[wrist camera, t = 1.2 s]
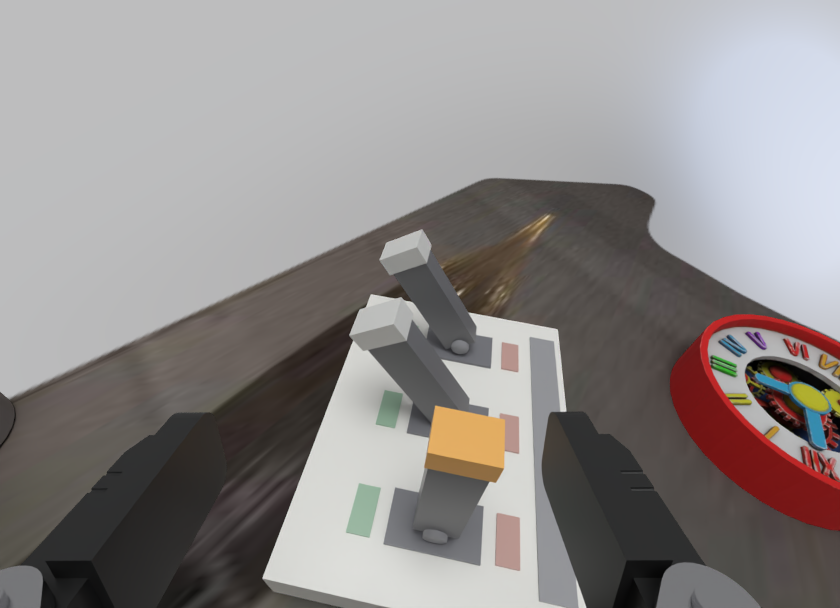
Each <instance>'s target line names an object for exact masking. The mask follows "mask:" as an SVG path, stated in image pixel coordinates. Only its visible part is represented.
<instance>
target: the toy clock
mask: <svg viewBox="0 0 840 608" xmlns="http://www.w3.org/2000/svg"><path fill="white" fill-rule="evenodd" d="M670 392H671V396H672V400H673V404H674V407H675V409H676V411H677V414H678V416H679V418H680V420H681V422H682V424H683V425H684V427H685V429H686V430H687V432H688V433H689V435H690V437H691V438H692V439H693V440H694V442H695V443H696V444H697V445H698V447H699V448H700V449H701V450H702V452H703V453H704V454H705V455H706V456H707V457H708V458H709V459H710V460H711V461H712V462H713V463H714V464H715V465H716V466H717V467H718V468H719V469H720V470H721V471H722V472H723V473H724V474H725V475H726V476H728V477H729V478H730V479H731V480H732V481H734V482H735V483H736V484H737V485H738V486H740V487H741V488H742V489H744V490H745V491H747V492H748V493H750V494H751V495H753V496H754V497H756V498H757V499H758V500H760V501H761V502H763V503H765V504H767V505H769V506H770V507H772V508H774V509H776V510H778V511H780V512H781V513H783V514H785V515H788V516H790V517H792V518H795V519H797V520H800V521H802V522H805V523H807V524H810V525H814V526H818V527H822V528H825V529H829V530H838V531H840V343H838V342H836V341H834V340H832V339H830V338H828V337H826V336H824V335H822V334H820V333H818V332H815V331H813V330H810V329H808V328H805V327H803V326H800V325H797V324H794V323H791V322H787V321H784V320H781V319H776V318H771V317H767V316H759V315H733V316H727V317H723V318H721V319H719V320H717V321H714V322H713V323H712V324H711V325H710V326H708V327H707V328H706V329H705V330H704V332H703V333H702V334H701V335H700V336H699V337H698V338H697V339H696V340H695V341H694V343H693V344H692V345H691V346H690V347H689V348H688V349H687V350H686V351H685V353H684V354H683V355H682V356H681V357H680V358H679V359H678V360H677V362H676V364H675V365H674V367H673V369H672V373H671V377H670Z"/></svg>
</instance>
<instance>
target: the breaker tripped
mask: <svg viewBox="0 0 840 608" xmlns="http://www.w3.org/2000/svg"><path fill="white" fill-rule="evenodd" d="M504 454H505V420H504V419H499V418H494V417H490V416H485V415H480V414H475V413H470V412H465V411H460V410H455V409H450V408H445V407H440V406H435V409H434V413H433V418H432V422H431V428H430V434H429V440H428V446H427V453H426V459H425V465H424V468H425V469H424V473H423V477H422V482H421V486H420V490H419V494H418V499H417V505H416V510H415V516H414V522H413V528H412V529H414V530H419V531H423V535H422V538H423V539H424V540H426V541H428V542H432V543H437V544H444V543H447V538H448V537H451V538H455V539H459V537H460V535H461V533H462V532H463V530H464V528H465V526H466V524H467V522H468V521H469V519H470V517H471V515H472V513H473V511H474V510H475V508H476V506H477V504H478V502H479V500H480V499H481V497H482V495H483V493H484V491H485V489H486V488H487V486H488V484H489V482H494V483H496V482H497V480H498V479H499V477H500V475H501V473H502V472H503V470H504Z"/></svg>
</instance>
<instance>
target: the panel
mask: <svg viewBox="0 0 840 608" xmlns="http://www.w3.org/2000/svg"><path fill="white" fill-rule="evenodd" d="M391 300H394V299H393V298H388V297H382V296H377V295H372V294H371V296H370V298H369V301H368V304H367V306H366V308H367V307H370V306H374V305H377V304H381V303H384V302H387V301H391ZM405 303H406V304H407V306H408V307H409V308H410V310H411V311H412V313H413V318H412V320H413V321H414V322H415V324H416V325H417V327H418V328H419V329H420V331H421V332H422V334H423V335H424V336H425V338H426V339H427V340H428V342H429V343H430V345H431V346H432V347H433V349H434V350H435V351H436V353H437V354H438V356H439V357H440V358H441V360H442V361H443V363H444V364H445V365H446V367H447V368H448V369H449V371H450V372H451V374H452V375H453V376H454V378H455V379H456V381H457V382H458V383H459V385H460V386H461V387H462V389H463V390H464V392H465V393H466V394H467V396H468V397H469V398H470V400H469V411H468V412H470V413H475V414H480V415H485V416H490V417H494V418H499V419H504V420H505V454H504V470H503V472H502V473H501V475H500V477H499V479H498V480H497V482H496V483H494V482H489V484H488V486H487V488H486V489H485V491H484V493H483V495H482V497H481V499H480V500H479V502H478V504H477V506H476V508H475V510H474V511H473V513H472V515H471V517H470V519H469V521H468V522H467V524H466V526H465V528H464V530H463V532H462V533H461V535H460V537H459V539H455V538H451V537H448V538H447V543H444V544H437V543H432V542H428V541H426V540H424V539H423V538H422V535H423V531H419V530H414V529H412V528H413V522H414V516H415V510H416V505H417V499H418V494H419V490H420V486H421V482H422V477H423V473H424V469H425V468H424V465H425V459H426V453H427V446H428V440H429V434H430V428H431V422H430V421H429V420H428V419H427V418H426V416H425V415H424V414H423V413H422V412H421V411H420V410H419V408H418V407H417V406H416V405H415V404H414V403H413V401H412V400H411V399H410V398H409V397H408V396H407V395H406V393H405V392H404V391H403V390H402V389H401V388H400V387H399V385H398V384H397V383H396V382H395V381H394V380H393V379H392V377H391V376H390V375H389V374H388V373H387V372H386V370H385V369H384V368H383V367H382V366H381V365H380V364H379V362H378V361H377V360H376V359H375V358H374V357H373V356H372V354H371V353H370V352H369V351H368V350H366V351H362V350H361V348H360V347H359V346H358V345H357V344H356V343H355V342H354V341H353V343H352V345H351V348H350V351H349V353H348V356H347V359H346V361H345V364H344V366H343V369H342V372H341V374H340V377H339V379H338V382H337V385H336V387H335V390H334V393H333V395H332V398H331V400H330V403H329V406H328V408H327V411H326V413H325V416H324V419H323V421H322V424H321V427H320V429H319V432H318V434H317V437H316V440H315V442H314V445H313V447H312V450H311V453H310V455H309V458H308V461H307V463H306V466H305V468H304V471H303V474H302V476H301V479H300V481H299V484H298V487H297V489H296V492H295V495H294V497H293V500H292V502H291V505H290V508H289V510H288V513H287V515H286V518H285V521H284V523H283V526H282V529H281V531H280V534H279V536H278V539H277V542H276V544H275V547H274V549H273V552H272V555H271V557H270V560H269V563H268V565H267V568H266V570H265V573H264V576H263V578H262V579H263V580H264V581H265V582H266V583H267V585H268V586H269V587H270V588H271V590H272V591H273V592H277V593H281V594H286V595H290V596H294V597H298V598H303V599H307V600H311V601H316V602H320V603H324V604H329V605H333V606H337V607H341V608H586V605H585V602H584V599H583V596H582V593H581V591H580V588H579V585H578V582H577V579H576V576H575V573H574V571H573V568H572V565H571V562H570V559H569V556H568V554H567V551H566V548H565V545H564V542H563V539H562V536H561V534H560V531H559V528H558V525H557V522H556V519H555V516H554V514H553V511H552V508H551V505H550V502H549V499H548V497H547V494H546V491H545V488H544V484H543V478H542V466H541V465H542V455H543V449H544V442H545V435H546V429H547V422H548V417H549V414H550V413H551V412H566V404H565V395H564V385H563V375H562V366H561V356H560V347H559V337H558V329H553V328H548V327H543V326H537V325H532V324H526V323H521V322H516V321H510V320H505V319H500V318H494V317H489V316H484V315H478V314H473V313H469V315H470V316H471V318H472V320H473V321H474V323H475V325H476V326H477V329H476V340H475V343H471V344H469V350H468V352H467V353H465V354H457V353H455V352H453V351H452V349H451V348H448V349H445V347H444V346H443V345H442V343H441V342H440V340H439V339H438V337H437V336H436V334H435V333H434V332H433V330H432V329H431V327H430V326H429V324H428V323H427V322H426V320H425V319H424V317H423V316H422V314H421V313H420V312H419V310H418V309H417V307H416V306H415V304H414V303H413V302H409V301H405Z"/></svg>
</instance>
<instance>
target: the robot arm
mask: <svg viewBox="0 0 840 608" xmlns="http://www.w3.org/2000/svg"><path fill="white" fill-rule="evenodd" d="M14 417H15V413H14V407H13V405H12V403H11V401H10V400H9V399H8V398H7V397H5V396H4V395H3V394H2V393H1V392H0V445H1V444H2V442H3V441H4V440H5V438H6V437H7V435H8V433H9V432H10V430H11V428H12V425H13V421H14ZM541 466H542V478H543V484H544V488H545V491H546V494H547V497H548V499H549V502H550V505H551V508H552V511H553V514H554V516H555V519H556V522H557V525H558V528H559V531H560V534H561V536H562V539H563V542H564V545H565V548H566V551H567V554H568V556H569V559H570V562H571V565H572V568H573V571H574V573H575V576H576V579H577V582H578V585H579V588H580V591H581V593H582V596H583V599H584V602H585V605H586V608H762V607H760V606H759V605H758V604H757V602H756V601H755V600H754V599H753V598H752V597H751V596H750V595H749V594H748V593H747V592H746V591H745V590H744V589H743V588H742V587H741V586H740V585H738V584H737V583H736V582H735V581H733V580H732V579H730V578H729V577H727V576H726V575H724V574H722V573H720V572H718V571H717V570H714V569H712V568H710V567H707V566H706V565H705V564H704V562H703V561H702V560H701V558H700V557H699V555H698V554H697V552H696V550H695V549H694V547H693V546H692V544H691V543H690V541H689V540H688V538H687V537H686V535H685V534H684V532H683V531H682V529H681V528H680V526H679V525H678V523H677V522H676V520H675V519H674V517H673V516H672V514H671V513H670V511H669V510H668V508H667V506H666V505H665V503H664V502H663V500H662V499H661V497H660V496H659V494H658V493H657V492H655V491H654V487H653V485H652V484H651V482H650V481H649V479H648V478H647V476H646V475H645V474H643V470H642V469H641V467H640V466H639V464H638V463H637V461H636V459H635V458H634V456H633V455H632V453H631V452H630V451H629V450H628V449H627V448H626V447H625V446H623V445H622V444H621V443H620V442H619V441H617V440H616V439H615V438H614V437H613V436H611V435H610V434H598V432H597V431H596V429H595V427H594V426H593V424H592V422H591V421H590V419H589V417H588V416H587V414H586V413H585V412H551V413H550V414H549V417H548V422H547V429H546V435H545V442H544V449H543V455H542V465H541ZM226 472H227V463H226V458H225V454H224V450H223V446H222V442H221V439H220V435H219V431H218V427H217V423H216V420H215V417H214V415H213V414H211V413H176V414H174V415H172V416H171V417H170V418H169V419H168V420H167V422H166V423H165V424H164V425H163V426H162V427H161V428H160V430H159V431H158V432H157V433H156V434H155V435H149V436H148V437H146V438H145V439H143V440H142V441H140V442H139V443H137V444H136V445H135V446H133V447H132V448H130V449H129V450H127V451H126V452H125V453H124V454H123V455H122V456H121V457H120V458H119V459H118V460H117V461H116V462H115V463H114V465H113V466H112V467H111V468H110V469H109V470H108V471H107V475H106V476H103V477H102V478H101V479H100V480H99V481H98V482H97V483H96V484H95V485H94V486H93V487H92V491H91V492H90V493H87V494H86V495H85V496H84V497H83V498H82V499H81V500H80V502H79V503H78V504H77V505H76V506H75V507H74V508H73V509H72V510H71V511H70V512H69V513H68V515H67V516H66V517H65V518H64V519H63V520H62V521H61V522H60V523H59V524H58V525H57V527H56V528H55V529H54V530H53V531H52V532H51V533H50V534H49V535H48V536H47V537H46V538H45V540H44V541H43V542H42V543H41V544H40V545H39V546H38V547H37V548H36V549H35V550H34V552H33V553H32V554H31V555H30V556H29V557H28V558H27V559H26V560H25V561H24V562H23V563H22V564H21V565H20V566H15V567H9V568H6V569H3V570H0V608H156V607H157V605H158V603H159V602H160V600H161V598H162V596H163V594H164V593H165V591H166V589H167V587H168V585H169V584H170V582H171V580H172V578H173V576H174V575H175V573H176V571H177V569H178V567H179V566H180V564H181V562H182V560H183V558H184V556H185V555H186V553H187V551H188V549H189V547H190V546H191V544H192V542H193V540H194V538H195V537H196V535H197V533H198V531H199V529H200V528H201V526H202V524H203V522H204V520H205V519H206V517H207V515H208V513H209V511H210V510H211V508H212V506H213V504H214V502H215V500H216V499H217V497H218V495H219V493H220V491H221V490H222V487H223V485H224V482H225V478H226Z"/></svg>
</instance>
